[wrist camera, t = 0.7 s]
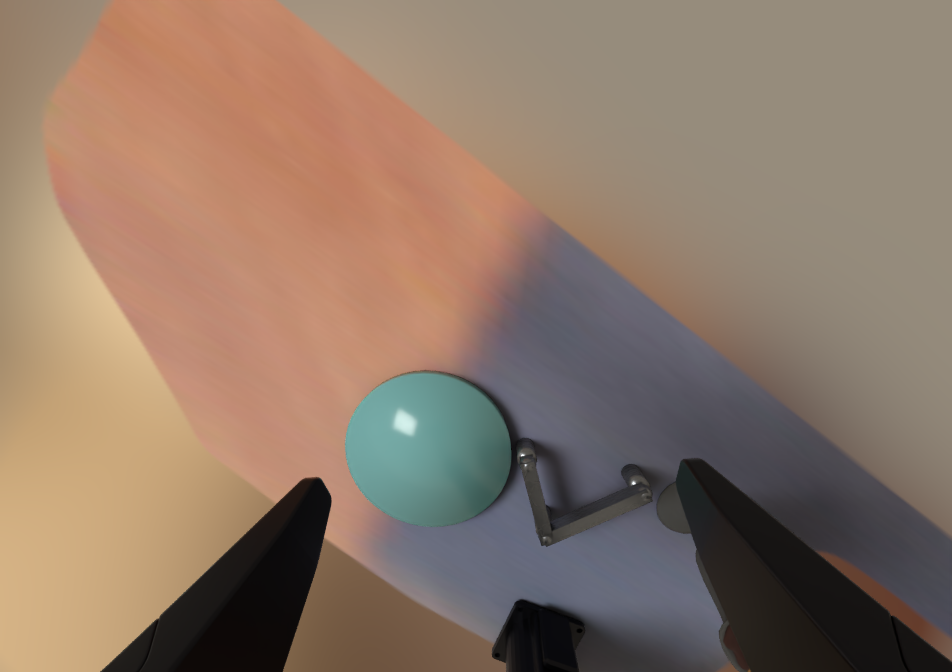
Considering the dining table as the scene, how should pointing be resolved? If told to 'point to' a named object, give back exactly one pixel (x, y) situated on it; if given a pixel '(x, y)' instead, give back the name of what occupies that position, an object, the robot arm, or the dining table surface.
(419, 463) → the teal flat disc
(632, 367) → the dining table surface
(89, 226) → the dining table surface
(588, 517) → the jointed flat metal bars
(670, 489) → the sundae
